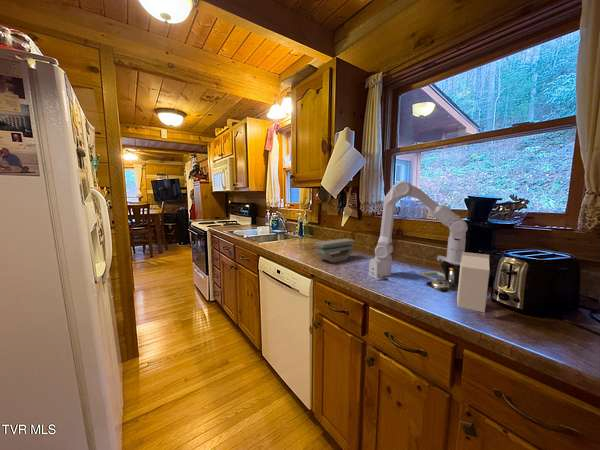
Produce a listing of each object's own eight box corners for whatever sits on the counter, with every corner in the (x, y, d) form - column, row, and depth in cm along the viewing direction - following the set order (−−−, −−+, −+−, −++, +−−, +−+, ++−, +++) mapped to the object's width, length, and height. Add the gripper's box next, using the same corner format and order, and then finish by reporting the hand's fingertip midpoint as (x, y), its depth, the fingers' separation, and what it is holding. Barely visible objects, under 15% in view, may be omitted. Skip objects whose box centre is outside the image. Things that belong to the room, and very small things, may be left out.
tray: (435, 284, 102) (436, 278, 101) (420, 278, 109) (420, 272, 109) (451, 282, 104) (452, 276, 104) (435, 276, 112) (436, 271, 112)
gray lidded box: (322, 264, 129) (323, 244, 128) (313, 261, 136) (314, 242, 134) (354, 258, 143) (355, 240, 142) (345, 255, 150) (345, 238, 149)
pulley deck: (443, 296, 89) (443, 287, 89) (423, 287, 98) (424, 279, 97) (468, 292, 93) (469, 283, 93) (447, 284, 102) (448, 276, 101)
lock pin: (453, 287, 94) (454, 269, 93) (445, 284, 98) (446, 267, 97) (459, 286, 95) (461, 268, 94) (451, 283, 99) (453, 266, 98)
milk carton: (484, 316, 74) (491, 257, 72) (457, 310, 78) (462, 254, 76) (481, 308, 80) (487, 252, 78) (456, 302, 84) (461, 250, 82)
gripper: (481, 252, 89) (478, 287, 91) (447, 245, 103) (444, 275, 104) (468, 253, 87) (464, 289, 89) (434, 245, 101) (431, 277, 102)
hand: (452, 282), depth 96 cm, fingers closed on lock pin, 3 cm apart
